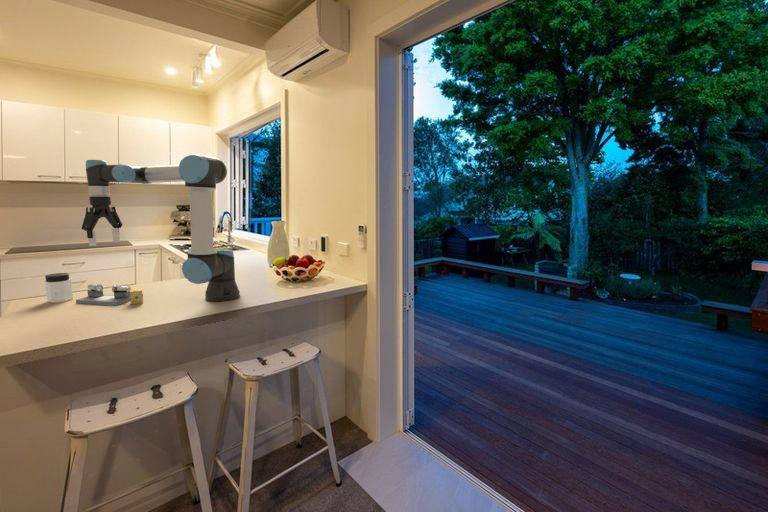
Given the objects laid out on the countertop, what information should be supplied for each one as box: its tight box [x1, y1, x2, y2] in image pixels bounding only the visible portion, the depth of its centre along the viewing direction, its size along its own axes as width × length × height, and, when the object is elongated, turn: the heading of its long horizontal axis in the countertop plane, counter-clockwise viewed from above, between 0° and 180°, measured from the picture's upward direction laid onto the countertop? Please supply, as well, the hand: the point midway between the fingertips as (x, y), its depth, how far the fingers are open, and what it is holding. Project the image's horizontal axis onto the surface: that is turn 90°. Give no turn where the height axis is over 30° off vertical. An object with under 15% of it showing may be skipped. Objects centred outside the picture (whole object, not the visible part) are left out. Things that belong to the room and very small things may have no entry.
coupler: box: [130, 288, 144, 306], centre depth 167 cm, size 5×5×6 cm
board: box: [75, 294, 131, 306], centre depth 169 cm, size 20×10×2 cm, turn 82°
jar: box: [44, 272, 74, 304], centre depth 169 cm, size 9×8×12 cm
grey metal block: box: [111, 285, 132, 299], centre depth 170 cm, size 6×4×6 cm, turn 97°
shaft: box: [87, 283, 104, 298], centre depth 172 cm, size 6×4×6 cm, turn 67°
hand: (105, 243), depth 167 cm, fingers open, 13 cm apart
